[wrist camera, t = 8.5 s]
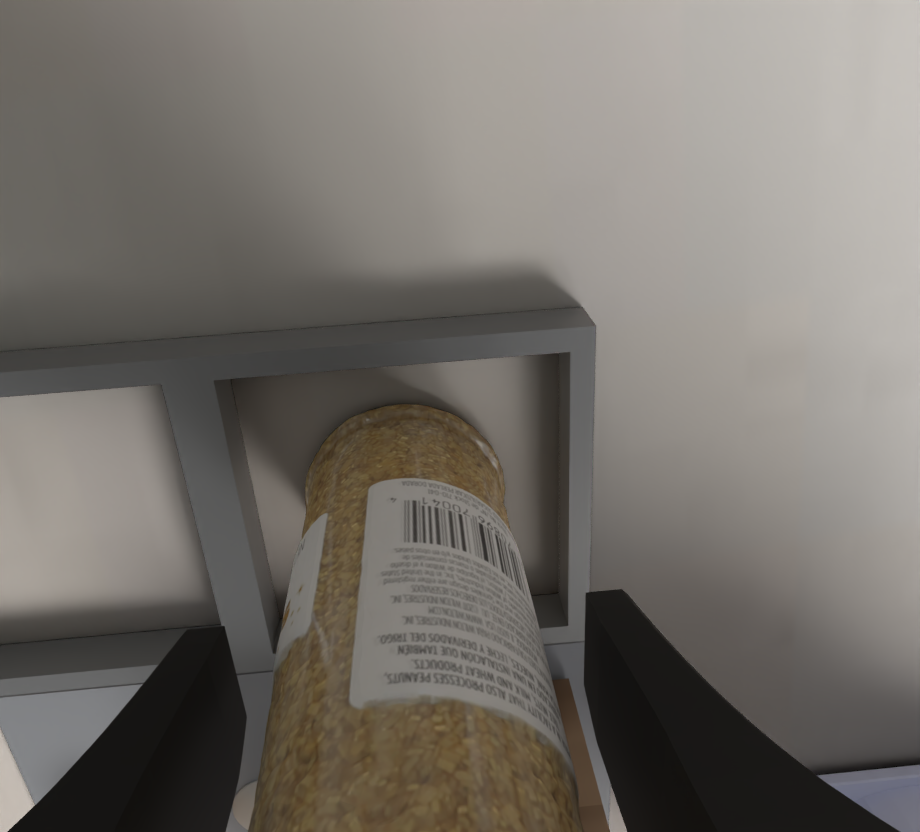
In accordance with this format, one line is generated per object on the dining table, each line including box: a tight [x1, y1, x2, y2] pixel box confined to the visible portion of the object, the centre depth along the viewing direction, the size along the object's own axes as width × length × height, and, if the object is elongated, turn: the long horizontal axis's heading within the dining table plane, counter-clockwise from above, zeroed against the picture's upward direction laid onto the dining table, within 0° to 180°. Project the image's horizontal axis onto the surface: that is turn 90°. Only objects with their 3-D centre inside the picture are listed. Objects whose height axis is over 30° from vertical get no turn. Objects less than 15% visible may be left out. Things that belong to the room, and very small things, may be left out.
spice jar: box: [248, 404, 584, 832], centre depth 12 cm, size 5×5×13 cm
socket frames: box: [0, 307, 596, 696], centre depth 17 cm, size 16×8×1 cm, turn 93°
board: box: [0, 641, 611, 832], centre depth 21 cm, size 16×10×2 cm, turn 93°
